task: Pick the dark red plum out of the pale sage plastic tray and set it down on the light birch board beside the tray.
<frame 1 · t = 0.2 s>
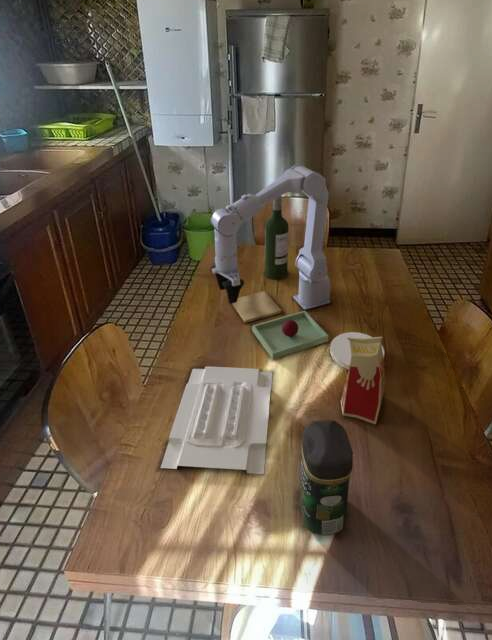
hand: (228, 295, 123), 10 cm above the table, tool pointing down, fingers open, 7 cm apart
tray: (289, 336, 122), on the table
plum: (290, 328, 121), point 3 cm above the table, touching tray
board: (255, 307, 135), on the table
wine bottle: (276, 274, 154), on the table
plastic lid: (356, 356, 115), on the table
coffee jar: (321, 510, 78), on the table
tray 2: (223, 415, 97), on the table
milk carton: (360, 405, 100), on the table
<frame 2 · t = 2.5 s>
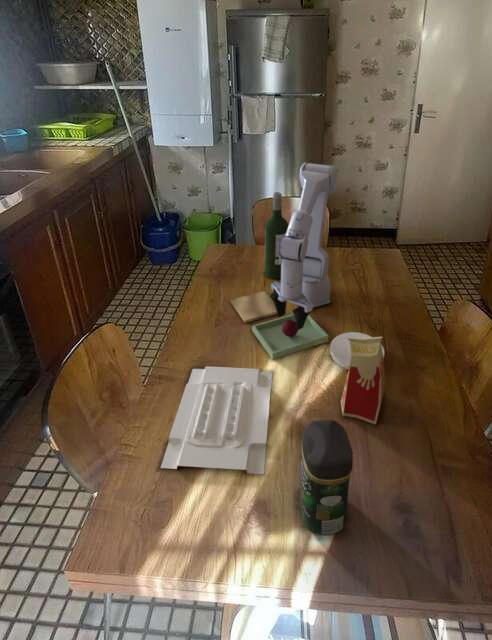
hand: (290, 321, 120), 5 cm above the table, tool pointing down, fingers open, 7 cm apart
nothing on the table moved.
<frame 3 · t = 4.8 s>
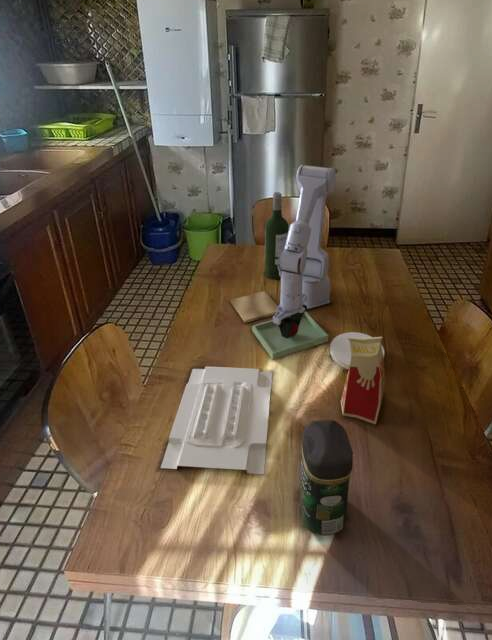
hand: (289, 332, 122), 1 cm above the table, tool pointing down, fingers closed on plum, 4 cm apart
plum: (290, 328, 121), point 3 cm above the table, touching gripper, tray
everything else where it was.
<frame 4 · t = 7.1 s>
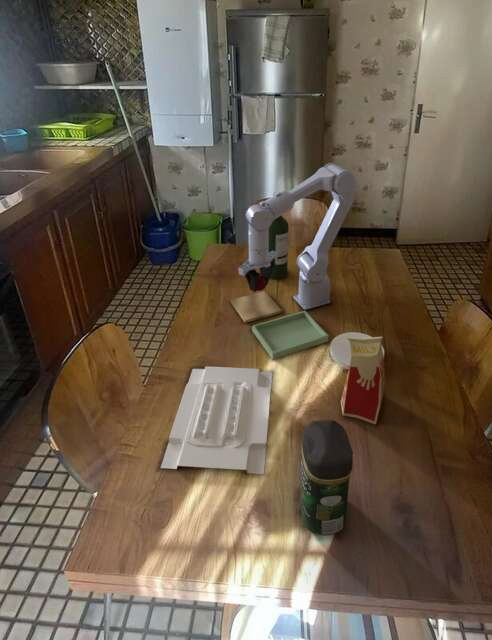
hand: (258, 287, 130), 8 cm above the table, tool pointing down, fingers closed on plum, 4 cm apart
plum: (258, 283, 129), point 10 cm above the table, touching gripper
everything else where it was.
when the fingers open (2 cm above the table, at t = 9.3 s): plum stays where it is, resting on board.
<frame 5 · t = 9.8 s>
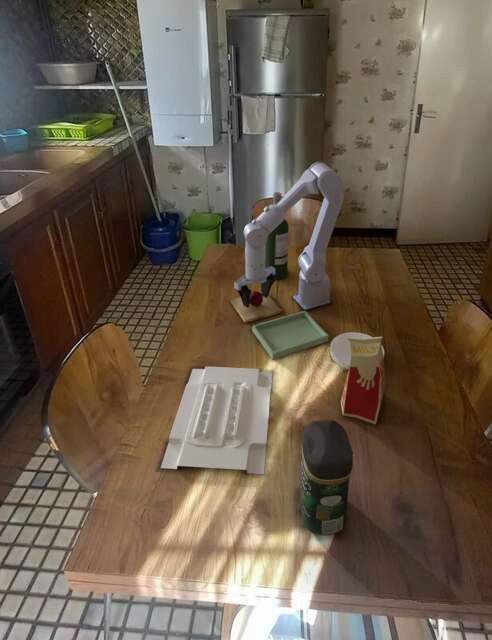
hand: (255, 301, 134), 2 cm above the table, tool pointing down, fingers open, 7 cm apart
plum: (255, 298, 133), point 3 cm above the table, touching board
everything else where it was.
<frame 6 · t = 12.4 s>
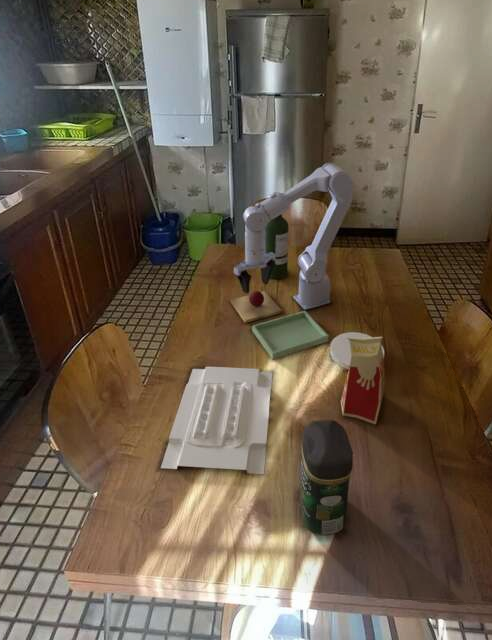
hand: (255, 287, 132), 7 cm above the table, tool pointing down, fingers open, 7 cm apart
plum: (256, 298, 133), point 3 cm above the table, tilted 9°, touching board
everything else where it was.
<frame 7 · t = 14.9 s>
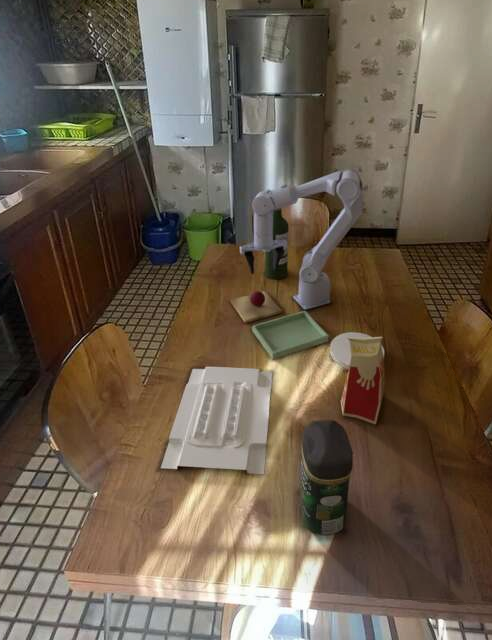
hand: (263, 270, 137), 9 cm above the table, tool pointing down, fingers open, 7 cm apart
plum: (257, 298, 133), point 3 cm above the table, tilted 16°, touching board
everything else where it was.
at the end: plum inside the target area on the board (0.6 cm from its centre), point 3.3 cm above the board's base; plum touching board; the gripper is holding nothing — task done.
